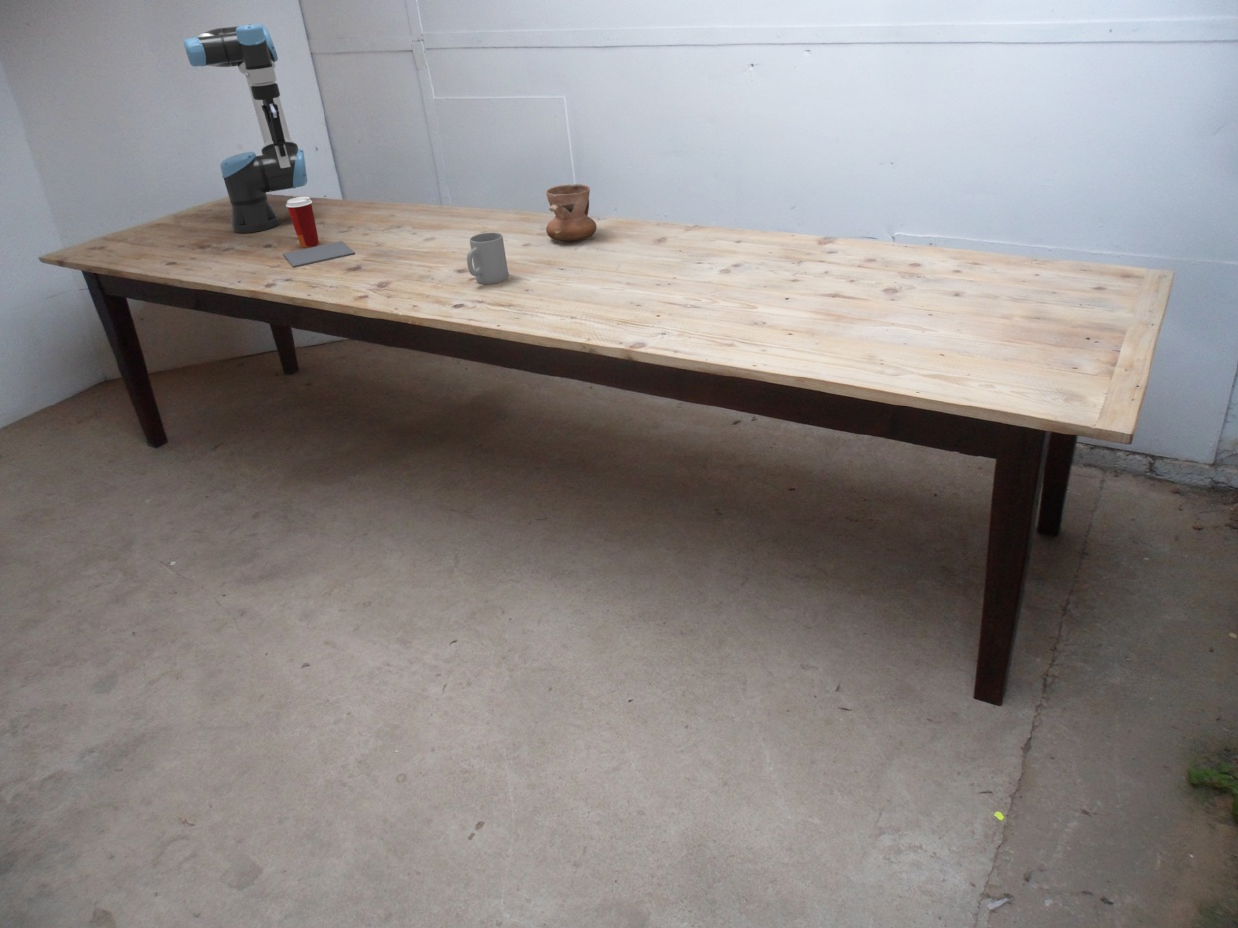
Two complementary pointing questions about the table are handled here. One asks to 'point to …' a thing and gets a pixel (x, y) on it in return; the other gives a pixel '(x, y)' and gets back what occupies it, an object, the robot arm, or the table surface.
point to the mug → (487, 258)
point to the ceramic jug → (570, 213)
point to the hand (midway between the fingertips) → (285, 167)
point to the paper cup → (303, 221)
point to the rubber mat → (318, 254)
